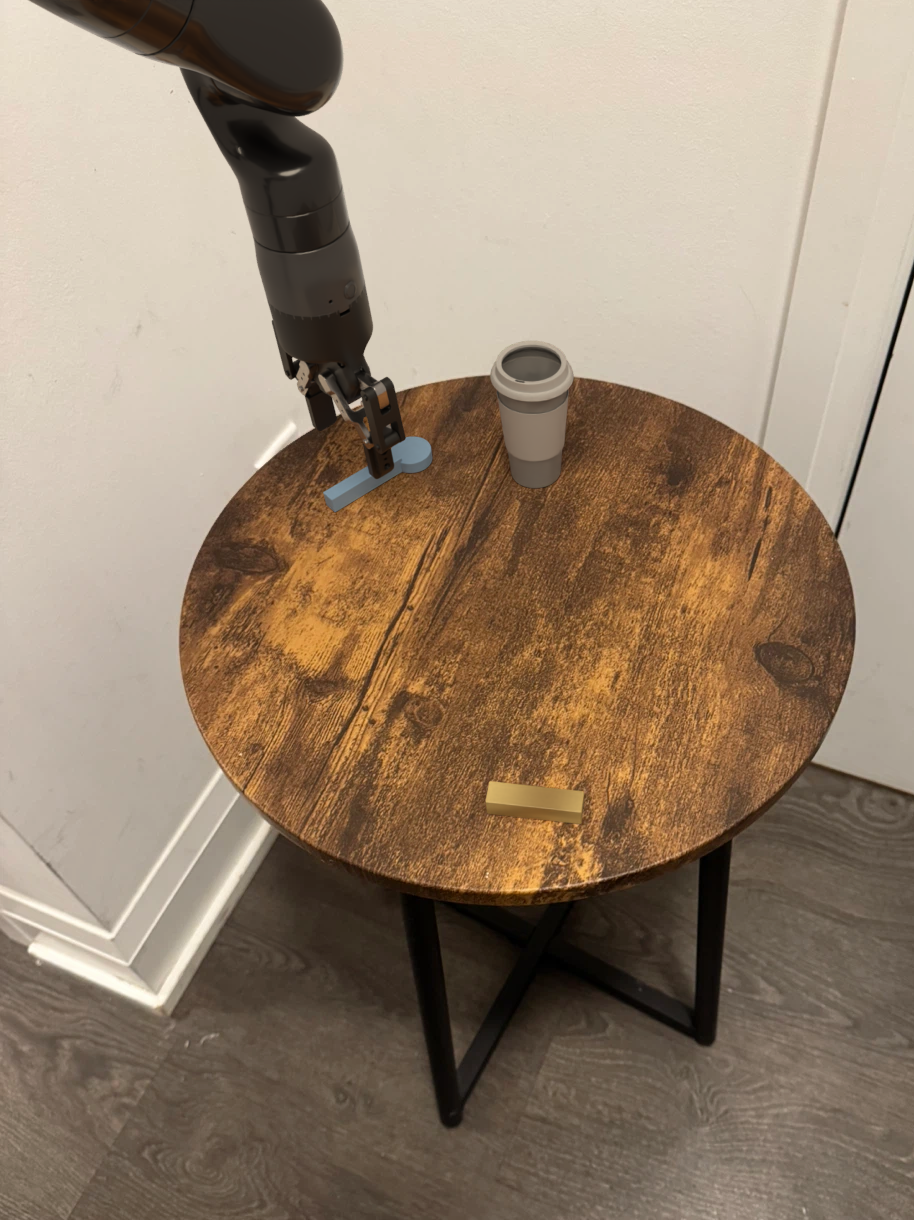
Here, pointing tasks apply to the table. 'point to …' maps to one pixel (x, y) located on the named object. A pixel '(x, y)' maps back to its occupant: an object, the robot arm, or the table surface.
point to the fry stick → (535, 802)
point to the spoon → (406, 458)
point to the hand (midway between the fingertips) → (353, 448)
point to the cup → (533, 409)
